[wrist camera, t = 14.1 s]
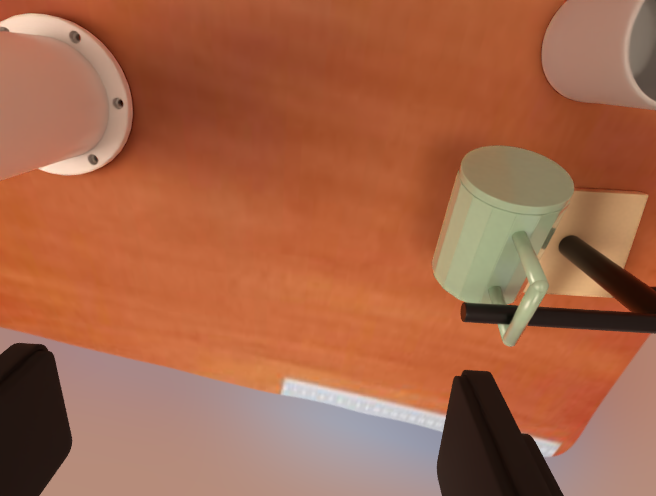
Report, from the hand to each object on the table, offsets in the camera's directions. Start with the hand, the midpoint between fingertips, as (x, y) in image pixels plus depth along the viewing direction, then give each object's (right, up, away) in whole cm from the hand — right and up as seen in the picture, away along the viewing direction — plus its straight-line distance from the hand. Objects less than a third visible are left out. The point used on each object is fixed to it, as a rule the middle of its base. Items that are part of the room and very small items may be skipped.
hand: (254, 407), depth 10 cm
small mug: (+13, +7, +16) cm, 22 cm away
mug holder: (+20, +5, +30) cm, 37 cm away
